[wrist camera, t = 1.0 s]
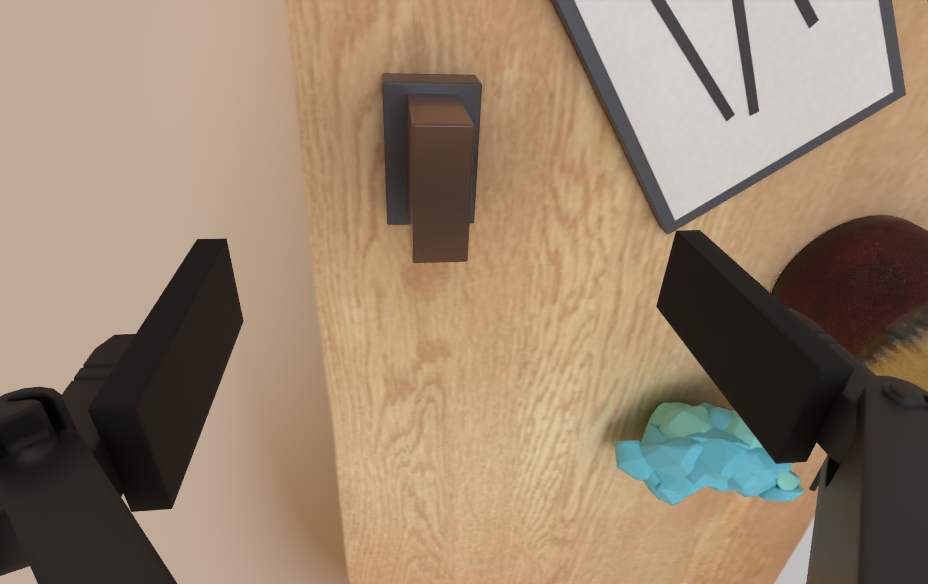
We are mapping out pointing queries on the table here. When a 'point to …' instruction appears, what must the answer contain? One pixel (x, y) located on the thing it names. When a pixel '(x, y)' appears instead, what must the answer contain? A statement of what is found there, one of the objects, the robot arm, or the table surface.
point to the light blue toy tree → (703, 456)
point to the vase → (867, 293)
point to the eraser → (432, 160)
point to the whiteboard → (730, 86)
